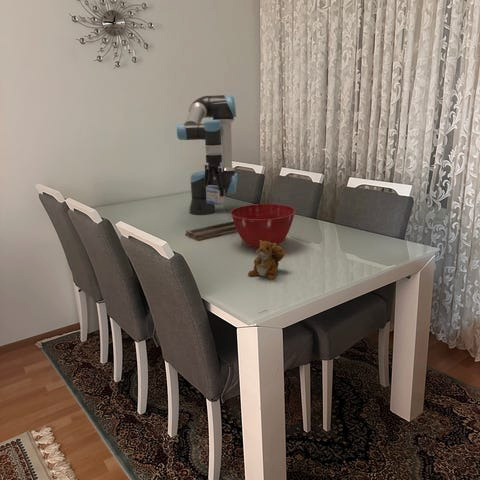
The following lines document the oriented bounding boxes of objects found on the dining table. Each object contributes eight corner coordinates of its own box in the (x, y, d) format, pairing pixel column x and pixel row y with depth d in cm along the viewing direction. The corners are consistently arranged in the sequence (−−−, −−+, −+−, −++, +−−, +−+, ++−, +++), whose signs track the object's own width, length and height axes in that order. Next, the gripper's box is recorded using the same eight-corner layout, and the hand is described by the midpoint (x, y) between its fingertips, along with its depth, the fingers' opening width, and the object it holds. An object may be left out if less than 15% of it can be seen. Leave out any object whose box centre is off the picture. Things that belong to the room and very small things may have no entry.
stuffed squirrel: (246, 276, 166) (245, 242, 163) (266, 265, 178) (266, 232, 174) (269, 282, 161) (269, 246, 157) (288, 270, 172) (289, 236, 168)
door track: (185, 235, 219) (184, 230, 219) (235, 224, 236) (235, 219, 235) (198, 241, 210) (197, 235, 209) (249, 229, 227) (249, 224, 226)
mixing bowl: (241, 257, 187) (240, 221, 182) (224, 238, 213) (223, 206, 208) (305, 250, 194) (305, 215, 189) (281, 232, 220) (281, 201, 215)
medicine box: (206, 203, 219) (205, 186, 216) (211, 201, 222) (210, 184, 220) (220, 205, 215) (219, 187, 213) (225, 203, 219) (224, 185, 216)
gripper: (195, 153, 218) (197, 199, 225) (219, 156, 201) (221, 206, 208) (208, 151, 222) (210, 197, 229) (233, 155, 206) (235, 204, 212)
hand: (215, 201), depth 219 cm, fingers closed on medicine box, 9 cm apart
